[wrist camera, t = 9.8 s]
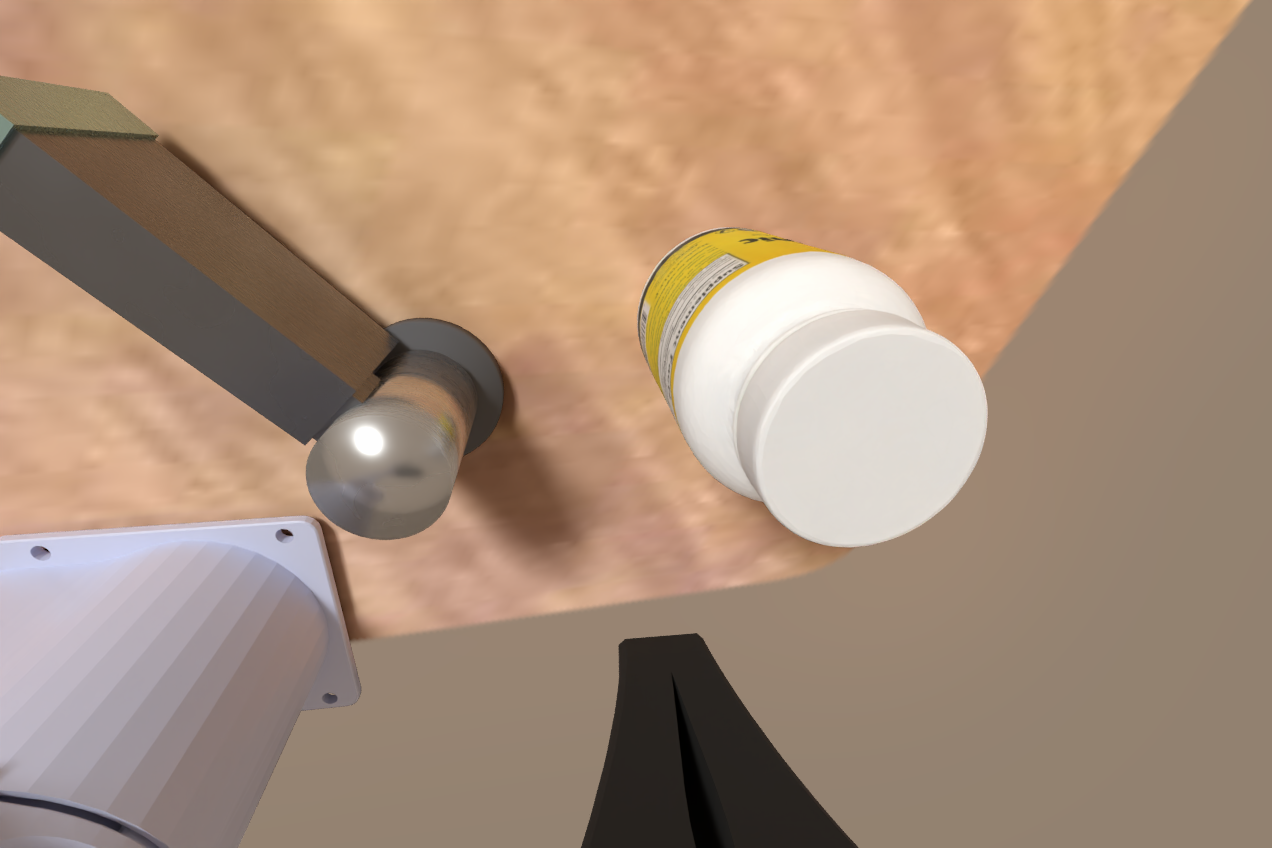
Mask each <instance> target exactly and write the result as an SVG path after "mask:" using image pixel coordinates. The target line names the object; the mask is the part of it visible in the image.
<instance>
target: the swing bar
mask: <svg viewBox="0 0 1272 848" xmlns="http://www.w3.org/2000/svg"><path fill="white" fill-rule="evenodd" d="M157 137H158V134H156V133H155V132H154V131H153V130H152V129H150V128H149V127H148V126H147V125H146V124H144V123H143V122H142V121H141V120H140V119H138V118H137V117H136V116H135V115H134V114H132V113H131V112H130V111H129V110H128V109H126V108H125V107H124V106H123V105H122V104H120V103H119V102H118V101H117V100H116V99H114V98H113V97H112V96H111V95H110V94H108V93H105V92H99V91H93V90H86V89H80V88H74V87H68V86H62V85H55V84H49V83H43V82H37V81H30V80H24V79H18V78H12V77H5V76H0V231H1V232H2V233H4V234H5V235H6V236H8V237H9V238H11V239H12V240H14V241H15V242H16V243H18V244H19V245H21V246H22V247H24V248H25V249H26V250H28V251H29V252H31V253H32V254H33V255H35V256H36V257H38V258H39V259H41V260H42V261H43V262H45V263H46V264H48V265H49V266H51V267H52V268H53V269H55V270H56V271H58V272H59V273H61V274H62V275H63V276H65V277H66V278H68V279H69V280H70V281H72V282H73V283H75V284H76V285H78V286H79V287H80V288H82V289H83V290H85V291H86V292H88V293H89V294H90V295H92V296H93V297H95V298H96V299H98V300H99V301H100V302H102V303H103V304H105V305H106V306H107V307H109V308H110V309H112V310H113V311H115V312H116V313H117V314H119V315H120V316H122V317H123V318H125V319H126V320H127V321H129V322H130V323H132V324H133V325H135V326H136V327H137V328H139V329H140V330H142V331H143V332H144V333H146V334H147V335H149V336H150V337H152V338H153V339H154V340H156V341H157V342H159V343H160V344H162V345H163V346H164V347H166V348H167V349H169V350H170V351H172V352H173V353H174V354H176V355H177V356H179V357H180V358H181V359H183V360H184V361H186V362H187V363H189V364H190V365H191V366H193V367H194V368H196V369H197V370H199V371H200V372H201V373H203V374H204V375H206V376H207V377H209V378H210V379H211V380H213V381H214V382H216V383H217V384H218V385H220V386H221V387H223V388H224V389H226V390H227V391H228V392H230V393H231V394H233V395H234V396H236V397H237V398H238V399H240V400H241V401H243V402H244V403H246V404H247V405H248V406H250V407H251V408H253V409H254V410H255V411H257V412H258V413H260V414H261V415H263V416H264V417H265V418H267V419H268V420H270V421H271V422H273V423H274V424H275V425H277V426H278V427H280V428H281V429H283V430H284V431H285V432H287V433H288V434H290V435H291V436H292V437H294V438H295V439H297V440H298V441H300V442H301V443H302V444H304V445H306V444H307V443H308V442H309V441H310V440H311V439H312V438H314V439H315V440H316V441H317V442H316V444H315V445H314V447H313V448H312V450H311V452H310V455H309V457H308V460H307V465H306V481H307V486H308V489H309V492H310V495H311V497H312V499H313V501H314V502H315V504H316V506H317V507H318V508H319V509H320V511H321V512H322V513H323V514H324V515H325V516H326V517H327V518H328V519H329V520H330V521H332V522H333V523H334V524H336V525H337V526H339V527H341V528H342V529H344V530H346V531H348V532H350V533H353V534H355V535H358V536H362V537H366V538H370V539H379V540H392V539H400V538H405V537H409V536H412V535H415V534H417V533H419V532H421V531H423V530H425V529H426V528H428V527H429V526H431V525H432V524H433V523H434V522H435V521H436V520H437V519H438V518H439V517H440V516H441V515H442V513H443V512H444V510H445V509H446V507H447V504H448V502H449V499H450V496H451V493H452V490H453V486H454V483H455V480H456V477H457V473H458V470H459V467H460V464H461V460H462V457H463V454H464V450H465V447H466V444H467V441H468V437H469V434H470V431H471V428H472V424H473V421H474V418H475V415H476V411H477V405H478V404H477V392H476V389H475V386H474V383H473V381H472V379H471V378H470V376H469V374H468V373H467V372H466V371H465V370H464V368H462V367H461V366H460V365H459V364H458V363H457V362H455V361H454V360H453V359H451V358H449V357H447V356H445V355H443V354H441V353H437V352H434V351H428V350H411V351H406V352H402V353H399V354H397V355H395V356H393V357H391V358H390V359H388V360H387V361H386V362H385V363H384V364H383V365H382V366H381V367H380V368H379V369H378V370H377V372H376V373H375V374H373V373H372V372H373V371H374V370H375V369H376V367H377V366H378V365H379V364H380V363H381V362H382V361H383V359H384V358H385V357H386V356H387V355H388V354H389V352H390V351H391V350H392V349H393V348H394V347H395V345H396V344H397V343H398V342H399V341H398V340H396V339H395V338H394V337H393V336H392V335H390V334H389V333H388V332H387V331H386V330H384V329H383V328H382V327H381V326H380V325H378V324H377V323H376V322H375V321H373V320H372V319H371V318H370V317H369V316H367V315H366V314H365V313H364V312H363V311H361V310H360V309H359V308H358V307H357V306H355V305H354V304H353V303H352V302H351V301H349V300H348V299H347V298H346V297H345V296H343V295H342V294H341V293H340V292H338V291H337V290H336V289H335V288H334V287H332V286H331V285H330V284H329V283H328V282H326V281H325V280H324V279H323V278H322V277H320V276H319V275H318V274H317V273H316V272H314V271H313V270H312V269H311V268H310V267H308V266H307V265H306V264H305V263H303V262H302V261H301V260H300V259H299V258H297V257H296V256H295V255H294V254H293V253H291V252H290V251H289V250H288V249H287V248H285V247H284V246H283V245H282V244H281V243H279V242H278V241H277V240H276V239H275V238H273V237H272V236H271V235H270V234H268V233H267V232H266V231H265V230H264V229H262V228H261V227H260V226H259V225H258V224H256V223H255V222H254V221H253V220H252V219H250V218H249V217H248V216H247V215H246V214H244V213H243V212H242V211H241V210H240V209H238V208H237V207H236V206H235V205H233V204H232V203H231V202H230V201H229V200H227V199H226V198H225V197H224V196H223V195H221V194H220V193H219V192H218V191H217V190H215V189H214V188H213V187H212V186H211V185H209V184H208V183H207V182H206V181H205V180H203V179H202V178H201V177H200V176H198V175H197V174H196V173H195V172H194V171H192V170H191V169H190V168H189V167H188V166H186V165H185V164H184V163H183V162H182V161H180V160H179V159H178V158H177V157H176V156H174V155H173V154H172V153H171V152H170V151H168V150H167V149H166V148H165V147H163V146H162V145H161V144H160V143H159V142H157V141H156V140H155V139H156V138H157Z"/></svg>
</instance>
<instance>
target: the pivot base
mask: <svg viewBox="0 0 1272 848" xmlns="http://www.w3.org/2000/svg"><path fill="white" fill-rule="evenodd" d="M384 330H386V331H387V332H388V333H389V334H390V335H392V336H393V337H394V338H395V339H396V340H398V341H399V342H398V343H397V344H396V345H395V347H394V348H393V349H392V350H391V351H390V352H389V354H388V355H387V356H386V357H385V358H384V359H383V361H382V362H381V363H380V364H379V365H378V366H377V367H376V369H375V370H374V371H373V372H372V373H373V374H375V373H376V372H377V370H378V369H379V368H380V367H381V366H382V365H383V364H384V363H385V362H386V361H387V360H388V359H390V358H391V357H393V356H395V355H397V354H399V353H402V352H406V351H411V350H428V351H434V352H437V353H441V354H443V355H445V356H447V357H449V358H451V359H453V360H454V361H455V362H457V363H458V364H459V365H460V366H461V367H462V368H464V370H465V371H466V372H467V373H468V374H469V376H470V378H471V379H472V381H473V383H474V386H475V389H476V392H477V404H478V405H477V411H476V415H475V418H474V421H473V424H472V428H471V431H470V434H469V437H468V441H467V444H466V447H465V450H464V454H463V456H464V455H466V454H468V453H470V452H471V451H473V450H474V449H476V448H477V447H479V446H480V445H481V444H482V443H483V442H484V441H485V440H486V439H487V438H488V437H489V436H490V434H491V433H492V431H493V430H494V428H495V427H496V424H497V422H498V420H499V417H500V413H501V409H502V405H503V397H504V385H503V379H502V375H501V371H500V368H499V366H498V364H497V362H496V360H495V358H494V357H493V355H492V353H491V352H490V351H489V349H488V348H487V347H486V346H485V345H484V344H483V343H482V342H481V341H480V340H479V339H478V338H477V337H476V336H474V335H473V334H472V333H470V332H469V331H467V330H465V329H463V328H462V327H460V326H458V325H455V324H453V323H450V322H447V321H443V320H439V319H432V318H414V319H407V320H403V321H399V322H397V323H394V324H391V325H389V326H387V327H386V328H384Z"/></svg>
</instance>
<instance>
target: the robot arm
mask: <svg viewBox="0 0 1272 848" xmlns="http://www.w3.org/2000/svg"><path fill="white" fill-rule="evenodd" d="M281 529H287V530H289V531H290V532H292V534H293V536H287V535H285V534H283V533H282V531H281ZM41 546H42V547H44V548H46V549H48V550H49V552H47V551H45V550H44V549H43V548H42V547H41ZM328 693H333V694H335V695H330V694H328ZM360 694H361V685H360V681H359V677H358V673H357V669H356V665H355V661H354V657H353V653H352V649H351V645H350V641H349V636H348V632H347V628H346V624H345V620H344V616H343V612H342V608H341V604H340V600H339V596H338V592H337V588H336V584H335V580H334V576H333V572H332V568H331V564H330V560H329V556H328V552H327V548H326V544H325V540H324V536H323V532H322V528H321V526H320V524H319V522H317V521H316V520H315V519H314V518H311V517H309V516H288V517H273V518H258V519H243V520H229V521H214V522H199V523H184V524H169V525H154V526H139V527H124V528H110V529H95V530H80V531H65V532H50V533H35V534H20V535H6V536H2V537H0V848H238V846H239V844H240V842H241V839H242V838H243V835H244V833H245V831H246V829H247V827H248V825H249V823H250V820H251V818H252V816H253V814H254V812H255V809H256V807H257V805H258V803H259V801H260V799H261V796H262V794H263V792H264V790H265V788H266V786H267V783H268V781H269V779H270V777H271V775H272V773H273V770H274V768H275V766H276V764H277V762H278V760H279V757H280V755H281V753H282V751H283V749H284V746H285V744H286V742H287V740H288V738H289V736H290V733H291V731H292V729H293V727H294V725H295V723H296V720H297V718H298V716H299V714H300V712H301V711H302V710H313V709H322V708H332V707H342V706H349V705H353V704H354V703H356V702H357V701H358V699H359V697H360ZM581 848H858V847H857V846H856V844H855V843H854V842H853V841H852V840H851V839H850V838H849V837H848V836H847V835H846V834H845V833H844V831H843V830H842V829H841V828H840V827H839V826H838V825H837V824H836V822H835V821H834V820H833V819H832V818H831V817H830V815H829V814H828V813H827V812H826V811H825V810H824V808H823V807H822V806H821V805H820V804H819V802H818V801H817V800H816V799H815V798H814V797H813V795H812V794H811V793H810V792H809V790H808V789H807V788H806V787H805V786H804V784H803V783H802V782H801V781H800V779H799V778H798V777H797V776H796V774H795V773H794V772H793V771H792V770H791V768H790V767H789V766H788V765H787V763H786V762H785V761H784V759H783V758H782V757H781V755H780V754H779V753H778V752H777V750H776V749H775V748H774V746H773V745H772V743H771V742H770V741H769V739H768V738H767V737H766V735H765V734H764V732H763V731H762V730H761V728H760V727H759V726H758V724H757V723H756V721H755V720H754V719H753V717H752V716H751V715H750V713H749V712H748V710H747V709H746V707H745V706H744V704H743V703H742V702H741V700H740V699H739V697H738V696H737V694H736V693H735V691H734V690H733V688H732V686H731V685H730V683H729V682H728V680H727V679H726V677H725V676H724V674H723V672H722V671H721V669H720V668H719V666H718V664H717V663H716V661H715V659H714V658H713V656H712V654H711V652H710V651H709V649H708V647H707V645H706V644H705V642H704V640H703V638H701V637H700V636H699V635H698V634H697V633H695V634H683V635H671V636H658V637H646V638H633V639H625V640H624V641H623V642H622V643H620V644H619V685H618V693H617V701H616V708H615V714H614V719H613V725H612V730H611V735H610V740H609V745H608V751H607V755H606V759H605V764H604V768H603V772H602V775H601V779H600V783H599V787H598V790H597V794H596V798H595V802H594V806H593V809H592V813H591V817H590V820H589V823H588V827H587V830H586V833H585V837H584V840H583V843H582V846H581Z"/></svg>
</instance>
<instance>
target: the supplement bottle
mask: <svg viewBox="0 0 1272 848" xmlns="http://www.w3.org/2000/svg"><path fill="white" fill-rule="evenodd" d="M637 329H638V336H639V341H640V345H641V348H642V351H643V354H644V357H645V359H646V361H647V364H648V366H649V368H650V370H651V372H652V374H653V376H654V378H655V380H656V383H657V384H658V386H659V388H660V390H661V392H662V394H663V396H664V398H665V400H666V402H667V404H668V406H669V408H670V410H671V412H672V414H673V416H674V418H675V420H676V422H677V424H678V426H679V428H680V430H681V432H682V434H683V436H684V438H685V440H686V442H687V444H688V446H689V447H690V449H691V450H692V452H693V454H694V455H695V457H696V458H697V459H698V461H699V462H700V463H701V464H702V466H703V467H704V468H705V469H706V470H707V471H708V472H709V473H710V474H711V475H712V476H713V477H714V478H715V479H716V480H718V481H719V482H720V483H722V484H723V485H724V486H726V487H728V488H729V489H731V490H732V491H734V492H736V493H738V494H740V495H743V496H745V497H748V498H750V499H753V500H757V501H761V502H764V504H765V505H766V507H767V508H768V510H769V511H770V512H771V513H772V515H773V516H774V517H775V518H776V519H777V520H778V521H779V522H780V523H781V524H782V525H784V526H785V527H786V528H787V529H789V530H790V531H792V532H793V533H795V534H797V535H798V536H800V537H802V538H804V539H806V540H809V541H812V542H815V543H818V544H822V545H826V546H834V547H861V546H870V545H874V544H878V543H882V542H885V541H889V540H892V539H894V538H897V537H899V536H901V535H904V534H906V533H908V532H910V531H912V530H913V529H915V528H917V527H919V526H920V525H922V524H923V523H925V522H926V521H928V520H929V519H931V518H932V517H933V516H934V515H935V514H937V513H938V512H939V511H940V510H942V509H943V508H944V507H945V506H946V505H947V504H948V503H949V502H950V501H951V500H952V499H953V498H954V497H955V495H956V494H957V493H958V491H959V490H960V489H961V488H962V486H963V485H964V483H965V482H966V480H967V479H968V477H969V475H970V474H971V472H972V470H973V469H974V467H975V465H976V463H977V460H978V458H979V456H980V453H981V450H982V447H983V444H984V440H985V434H986V427H987V401H986V396H985V391H984V387H983V384H982V381H981V379H980V377H979V374H978V373H977V371H976V369H975V368H974V366H973V364H972V363H971V361H970V360H969V359H968V357H967V356H966V355H965V354H964V353H963V352H962V351H961V350H960V349H959V348H958V347H957V346H955V345H954V344H953V343H952V342H950V341H949V340H947V339H946V338H944V337H943V336H941V335H939V334H936V333H934V332H932V331H930V330H928V329H927V328H926V326H925V324H924V321H923V318H922V316H921V315H920V313H919V311H918V309H917V308H916V306H915V304H914V303H913V301H912V300H911V299H910V297H909V296H908V295H907V294H906V293H905V291H904V290H903V289H902V288H901V287H900V286H899V285H898V284H897V283H896V282H894V281H893V280H892V279H891V278H889V277H888V276H887V275H885V274H884V273H882V272H881V271H879V270H877V269H876V268H874V267H872V266H870V265H868V264H865V263H863V262H860V261H858V260H855V259H853V258H850V257H847V256H845V255H841V254H837V253H834V252H830V251H826V250H823V249H819V248H815V247H812V246H808V245H804V244H802V243H798V242H794V241H791V240H788V239H783V238H780V237H777V236H773V235H770V234H767V233H764V232H760V231H756V230H751V229H746V228H737V227H723V228H715V229H711V230H707V231H703V232H701V233H698V234H696V235H693V236H691V237H689V238H687V239H686V240H684V241H683V242H681V243H679V244H678V245H677V246H675V247H674V248H673V249H672V250H670V251H669V252H668V253H667V254H666V255H665V256H664V257H663V258H662V259H661V260H660V262H659V263H658V264H657V265H656V267H655V268H654V270H653V271H652V273H651V275H650V276H649V278H648V280H647V282H646V284H645V286H644V289H643V291H642V294H641V298H640V302H639V307H638V314H637Z"/></svg>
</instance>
